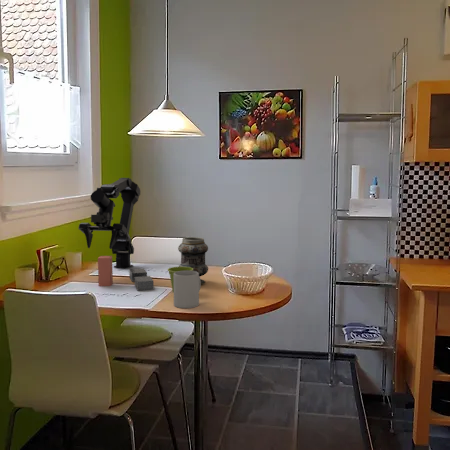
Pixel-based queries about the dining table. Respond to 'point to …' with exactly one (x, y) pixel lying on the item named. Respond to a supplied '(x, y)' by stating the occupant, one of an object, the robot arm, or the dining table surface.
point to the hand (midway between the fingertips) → (99, 248)
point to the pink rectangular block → (105, 271)
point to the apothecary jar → (194, 255)
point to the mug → (186, 289)
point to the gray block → (141, 279)
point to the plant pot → (175, 269)
